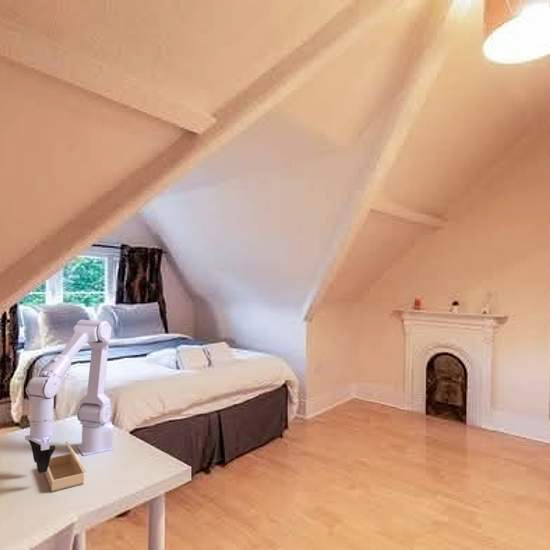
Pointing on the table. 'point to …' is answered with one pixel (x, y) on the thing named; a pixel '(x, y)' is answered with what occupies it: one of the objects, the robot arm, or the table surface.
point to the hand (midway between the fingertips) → (40, 466)
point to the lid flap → (75, 457)
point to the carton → (64, 473)
